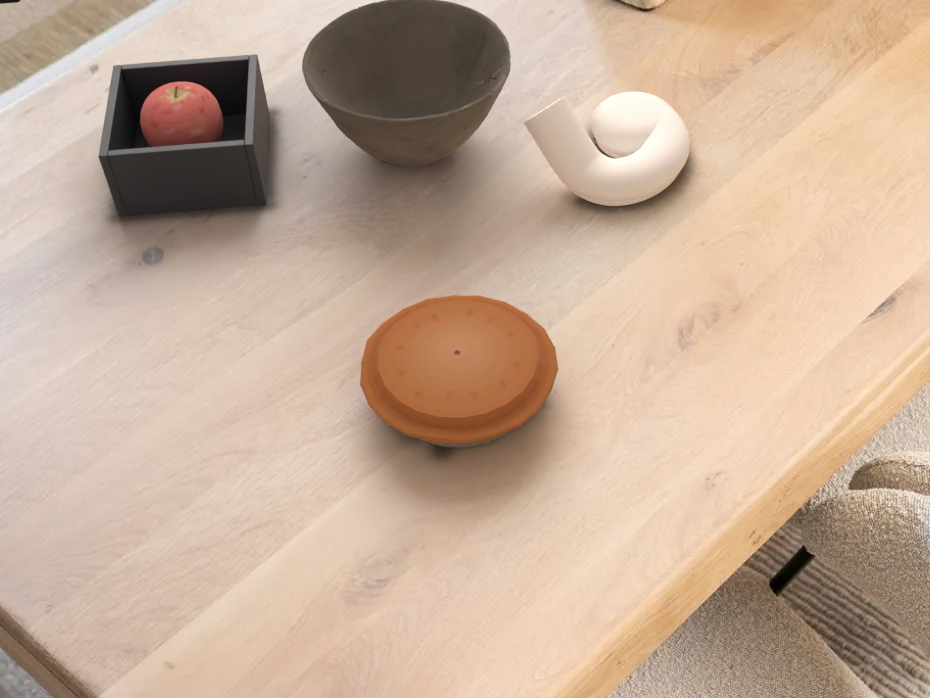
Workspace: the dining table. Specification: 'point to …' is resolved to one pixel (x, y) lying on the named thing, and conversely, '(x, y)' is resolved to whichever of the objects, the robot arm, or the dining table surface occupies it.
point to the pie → (458, 370)
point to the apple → (181, 115)
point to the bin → (190, 165)
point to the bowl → (408, 76)
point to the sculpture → (614, 147)
